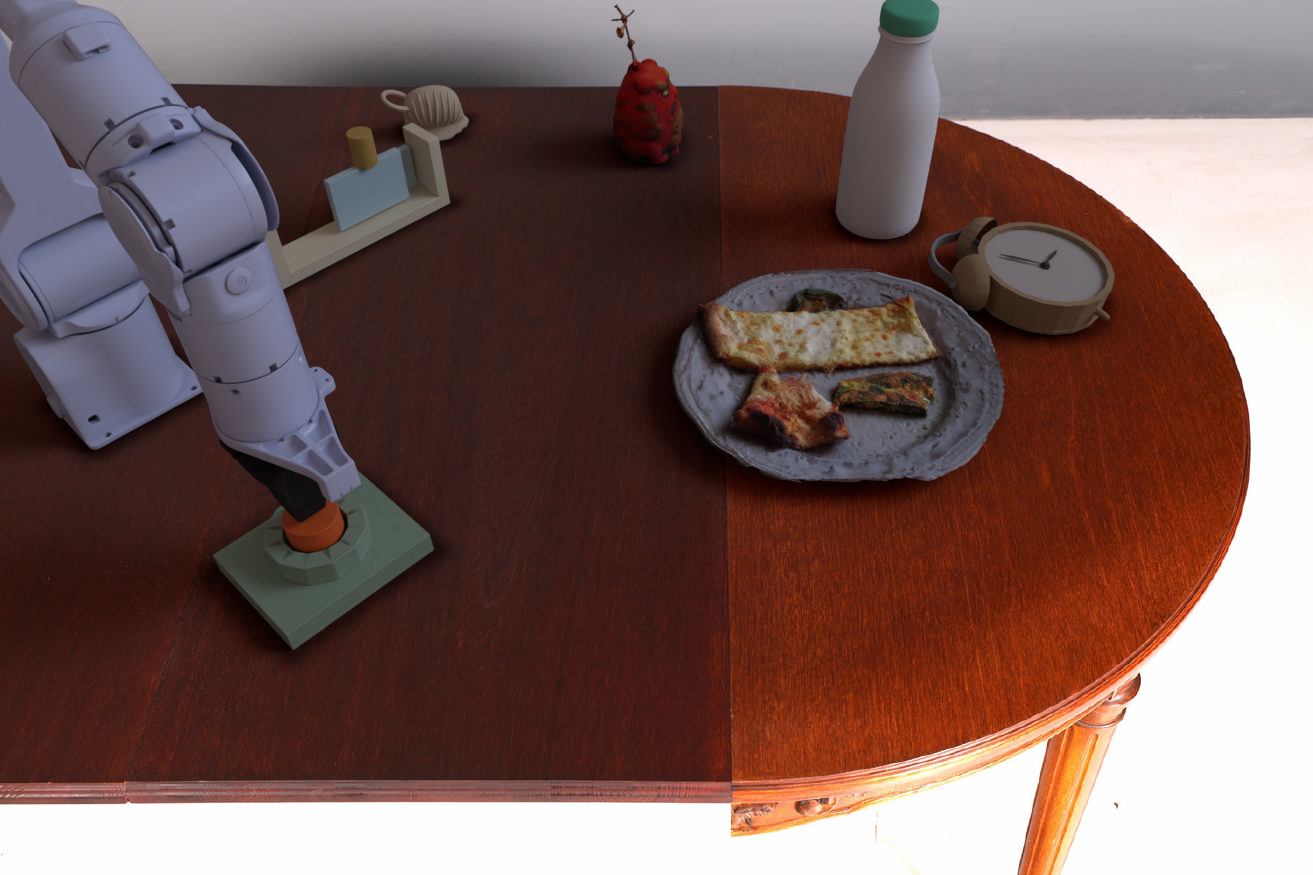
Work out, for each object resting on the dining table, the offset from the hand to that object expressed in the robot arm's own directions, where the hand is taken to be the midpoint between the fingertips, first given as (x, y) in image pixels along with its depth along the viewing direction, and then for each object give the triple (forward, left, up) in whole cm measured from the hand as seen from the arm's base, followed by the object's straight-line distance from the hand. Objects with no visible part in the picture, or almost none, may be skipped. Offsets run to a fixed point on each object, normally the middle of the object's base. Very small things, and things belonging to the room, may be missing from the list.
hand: (307, 508), depth 67 cm
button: (0, 0, -2) cm, 2 cm away
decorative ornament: (+39, +40, -6) cm, 56 cm away
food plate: (+37, -14, -6) cm, 40 cm away
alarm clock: (+57, -18, -6) cm, 60 cm away
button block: (0, 0, -5) cm, 5 cm away
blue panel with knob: (+25, +30, -4) cm, 39 cm away
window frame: (+23, +30, -5) cm, 38 cm away
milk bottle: (+58, -3, -6) cm, 58 cm away
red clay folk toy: (+52, +21, -6) cm, 56 cm away
